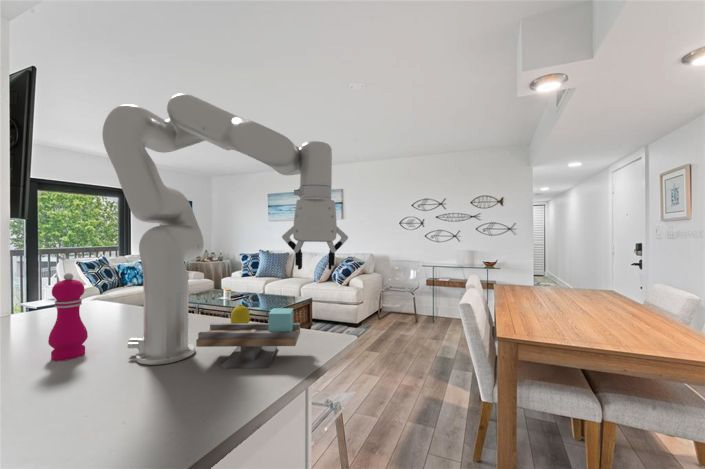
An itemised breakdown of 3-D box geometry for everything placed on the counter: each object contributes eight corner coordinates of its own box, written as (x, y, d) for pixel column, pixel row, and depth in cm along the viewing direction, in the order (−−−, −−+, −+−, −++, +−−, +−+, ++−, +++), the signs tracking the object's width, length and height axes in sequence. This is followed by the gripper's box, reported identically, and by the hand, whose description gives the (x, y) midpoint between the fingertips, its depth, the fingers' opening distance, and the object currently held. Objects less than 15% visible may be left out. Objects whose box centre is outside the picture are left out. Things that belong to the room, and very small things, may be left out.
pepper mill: (94, 353, 82) (94, 272, 82) (58, 364, 76) (58, 275, 76) (77, 348, 85) (77, 270, 85) (41, 358, 79) (41, 273, 79)
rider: (268, 335, 78) (268, 313, 78) (272, 328, 83) (273, 308, 83) (290, 335, 78) (290, 313, 78) (293, 328, 84) (293, 308, 84)
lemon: (243, 334, 99) (243, 306, 99) (226, 332, 100) (226, 305, 100) (253, 328, 104) (253, 303, 104) (236, 327, 105) (236, 302, 105)
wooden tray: (194, 368, 74) (194, 336, 74) (214, 349, 86) (214, 321, 86) (294, 367, 75) (294, 335, 75) (300, 348, 87) (300, 321, 87)
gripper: (276, 192, 77) (276, 270, 77) (352, 193, 77) (351, 271, 78) (282, 195, 84) (281, 267, 84) (351, 197, 85) (350, 267, 85)
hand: (315, 268), depth 81 cm, fingers open, 6 cm apart
